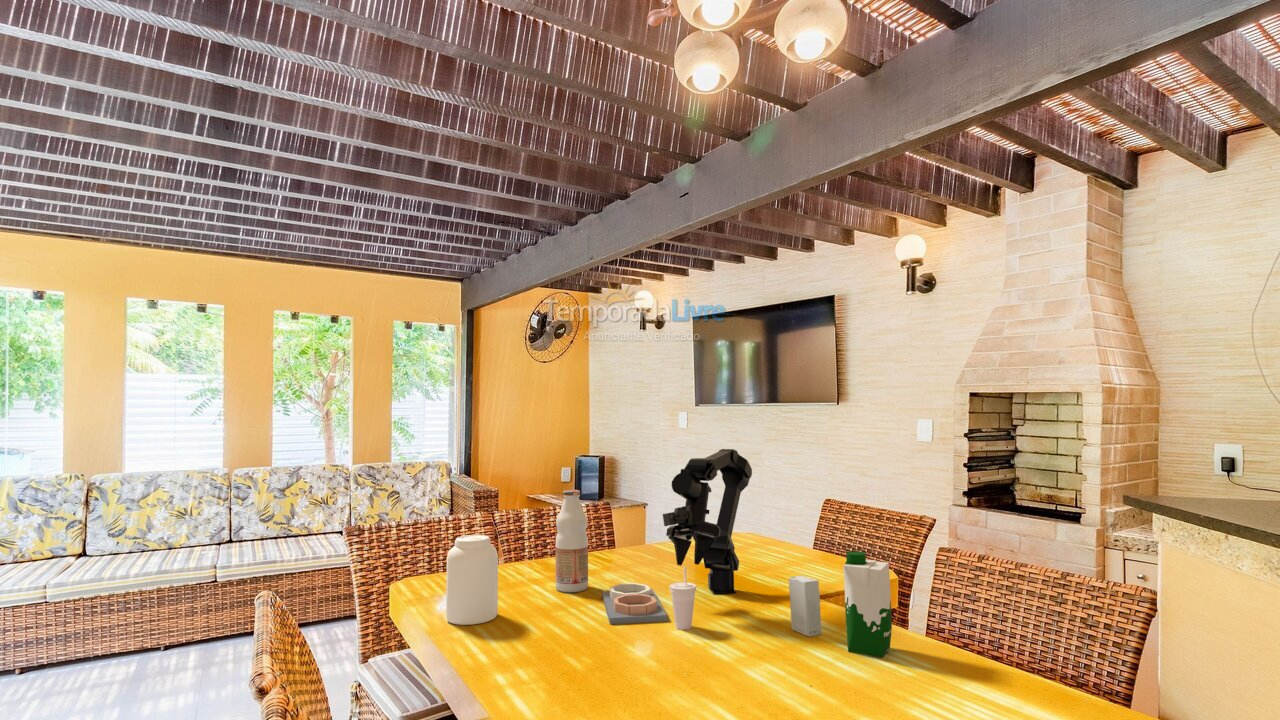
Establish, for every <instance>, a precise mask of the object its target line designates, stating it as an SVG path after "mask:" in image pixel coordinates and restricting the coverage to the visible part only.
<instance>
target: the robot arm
mask: <svg viewBox="0 0 1280 720" xmlns="http://www.w3.org/2000/svg"><path fill="white" fill-rule="evenodd" d="M752 469H753V468H752V465H751V464H750V462H749V460H748V459H746V458H745V457H743V456H742V455H740V454H739V453H738V451H737V450H736V449H734V448H722V449H719V450H718V451H716V452H714V453H713V454H711V455H709V456H706V457H703V458H702V457H701V458H698V457H695V458H690V459H689V461H688V462H687V464H686V465H685V467H684V468H681V469H680V473H678V474H676V475H675V476H674V477H673V479H672V481H671V488H672V491H673V492H674V493H675V494H677V495H678V496H680V497H681V498H683V499H685V504H684V506H680V507H675V508H674V509H673V510H674V511H672V512H666V513H662V520H663V526H664V527H668V526H669V527H668V528H666V533H665V535H666V537H668V538H667V539H668V540H670V541H671V543H673V546H674V550H675V559H676V564H677V566H680V567H681V566H682V565H683V563H684V561H685V559H686V557H687V554H688V551H689V549H690V547H691V544H692V539H693V541H694V562H693V563H694V565H700V563H701V562H702V561H703V564H704V569H709V572H708V574H707V588H708V589H709V590H710V591H711V593H712V594H715V595H718V594H721V595H722V594H736V593H737V590H736V589H735V573H734V572H737V571H739V567H740V559H739V558H738V556H737V554H736V552H735V547H736V546H735V544H734V542H733V539H732V534H733V530H734V525H735V521H736V515H737V511H738V507H739V502H740V497H741V494H742V492H743V491H744V490H745V489H746V488H747V487H748V485H749V483H750V479H751V478H752V476H753V470H752ZM718 471H720V473H721V479H722V481H723V483H724V490H723V491H724V492H723V496H722V499H721V503H720V506H719V507H720V508H719V512H718V517H717V520H716V524H715V523H713V522H708V521H706V516H707V515H709V514H710V509H708V501H709V494H710V493H712V488H711V487H710V485H709V483H708V482H709V481H710V482H711V481H713V480H714V479H715V478H716V477H717V476H718Z"/></svg>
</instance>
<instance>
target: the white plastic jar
mask: <svg viewBox="0 0 1280 720" xmlns="http://www.w3.org/2000/svg"><path fill="white" fill-rule="evenodd" d="M498 568H499V555H498V551H497V548H496V547H495V546H494V545H493V544H492V543H491V538H490V537H489V535H485V534H467V535H461V536H458V537H456V538H455V541H454V546H453V547H451V549H449V550H448V551H447V556H446V581H445V583H446V585H445V586H446V589H445V590H446V592H445V594H446V596H445V599H446V600H445V601H446V602H445V617H446V620H447V622H448V623H450V624H454V625H460V626H472V625H480V624H485V623H487V622H489V621H493V620H494V619H496V617H497V616H498V612H499V608H498V607H499V606H498V603H499V596H498V595H499V591H498V590H499V580H498V579H499V569H498Z"/></svg>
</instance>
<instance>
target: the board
mask: <svg viewBox="0 0 1280 720" xmlns="http://www.w3.org/2000/svg"><path fill="white" fill-rule="evenodd" d="M601 594H602V595H601V598H602V600H603V605H604V608H605V611H606V615H607V618H608V623H609V625H622V624H623V625H624V624H641V623H642V624H643V623H645V624H646V623H660V622H661V623H663V622H668V614H667V612H666V610H665V609H664V607H663V605H662V604H661V601H660V600H659V598H658V596H657V595H656V593H655V591H654V589H653V588H650V586H649V585H647V584H644V583H643V584H642V583H635V582H630V583H629V582H628V583H617V584H615V585H612V586H610V587H609V590H602V591H601Z"/></svg>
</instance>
